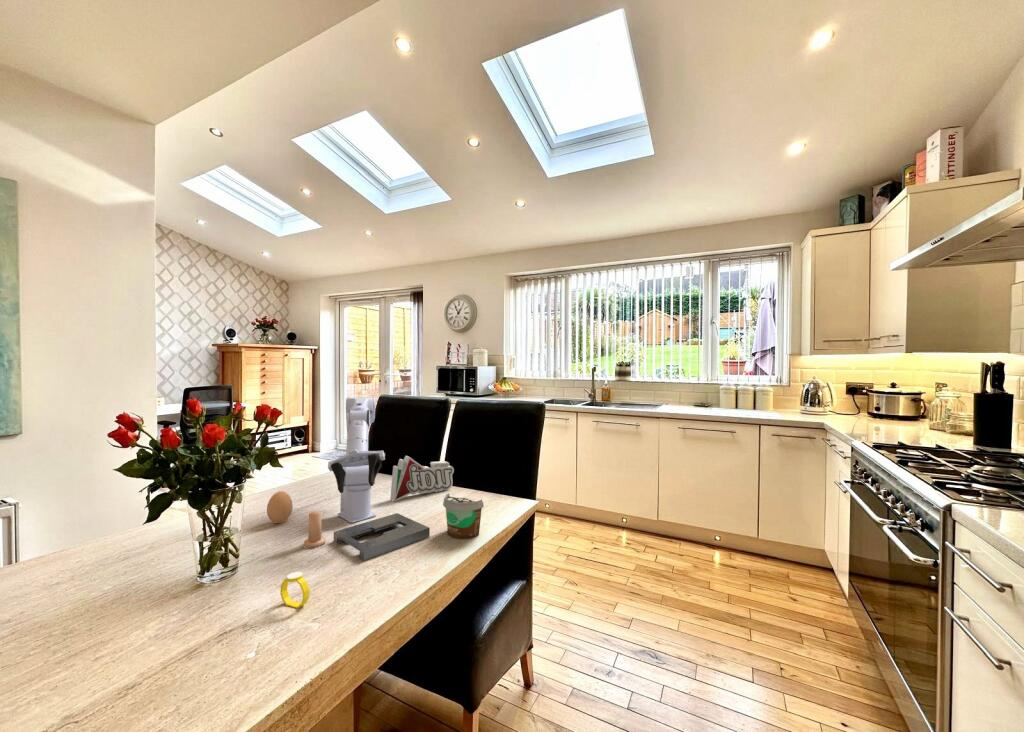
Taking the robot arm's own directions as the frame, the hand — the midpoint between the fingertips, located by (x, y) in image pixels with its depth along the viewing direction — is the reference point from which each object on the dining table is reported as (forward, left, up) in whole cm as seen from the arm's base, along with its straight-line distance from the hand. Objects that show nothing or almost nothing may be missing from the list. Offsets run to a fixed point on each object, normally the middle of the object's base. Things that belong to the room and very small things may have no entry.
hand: (355, 487), depth 106 cm
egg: (-31, -8, -15) cm, 35 cm away
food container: (+14, +22, -15) cm, 31 cm away
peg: (-9, -7, -15) cm, 18 cm away
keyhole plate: (+1, +7, -15) cm, 17 cm away
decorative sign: (-23, +37, -15) cm, 46 cm away
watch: (+16, -21, -15) cm, 31 cm away
